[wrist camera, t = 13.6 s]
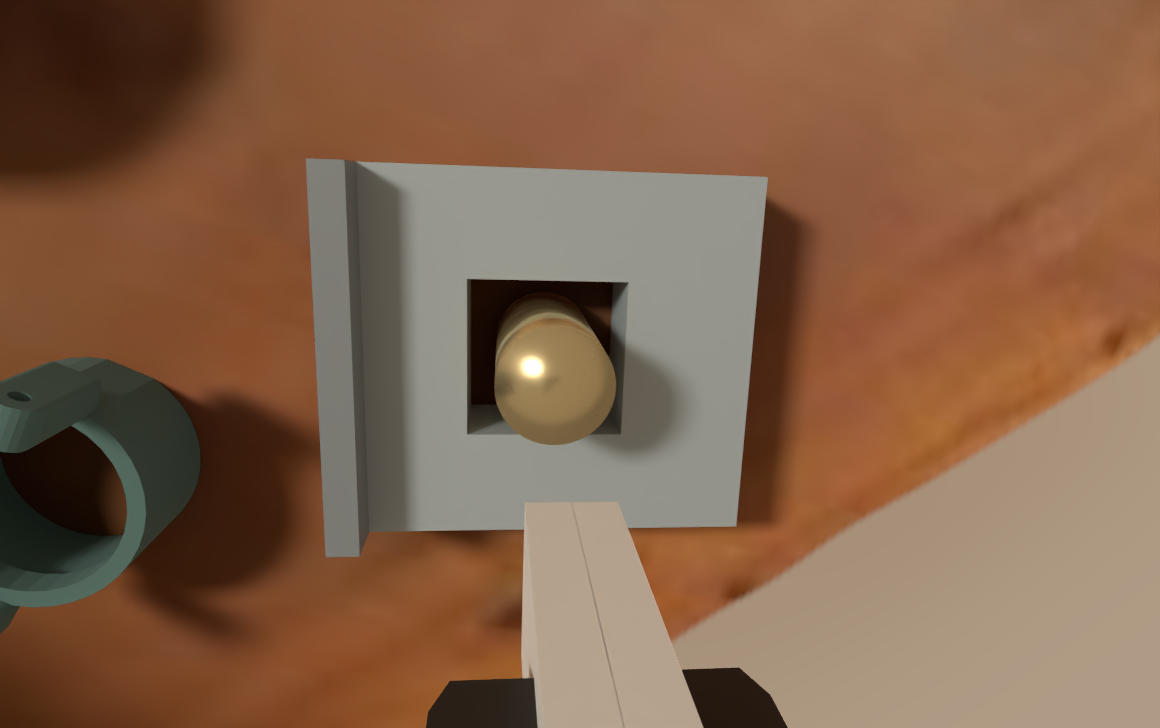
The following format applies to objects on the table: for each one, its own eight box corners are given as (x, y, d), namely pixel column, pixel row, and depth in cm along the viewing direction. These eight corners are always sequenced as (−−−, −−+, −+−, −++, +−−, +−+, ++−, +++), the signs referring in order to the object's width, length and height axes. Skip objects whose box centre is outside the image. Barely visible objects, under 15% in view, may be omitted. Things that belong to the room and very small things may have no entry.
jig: (357, 491, 33) (325, 556, 27) (344, 163, 30) (305, 158, 24) (710, 488, 34) (752, 549, 29) (734, 177, 31) (788, 176, 25)
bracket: (156, 325, 30) (15, 381, 22) (232, 525, 33) (132, 647, 24) (-64, 378, 30) (-296, 455, 21) (28, 576, 32) (-148, 718, 24)
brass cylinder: (497, 383, 32) (495, 446, 25) (495, 292, 31) (493, 327, 24) (588, 382, 33) (614, 444, 25) (589, 292, 32) (617, 327, 24)
